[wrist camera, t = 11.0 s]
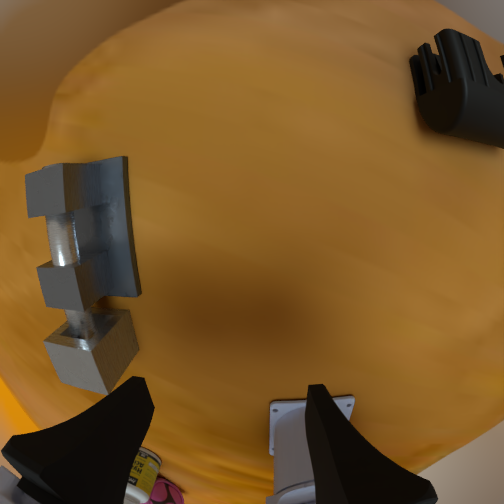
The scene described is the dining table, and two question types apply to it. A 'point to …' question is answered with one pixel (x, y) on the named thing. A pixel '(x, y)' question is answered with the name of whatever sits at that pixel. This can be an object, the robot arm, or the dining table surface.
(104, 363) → the collar
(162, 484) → the pencil case
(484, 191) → the dining table surface
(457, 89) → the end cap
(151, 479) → the supplement bottle
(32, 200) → the shaft stand
